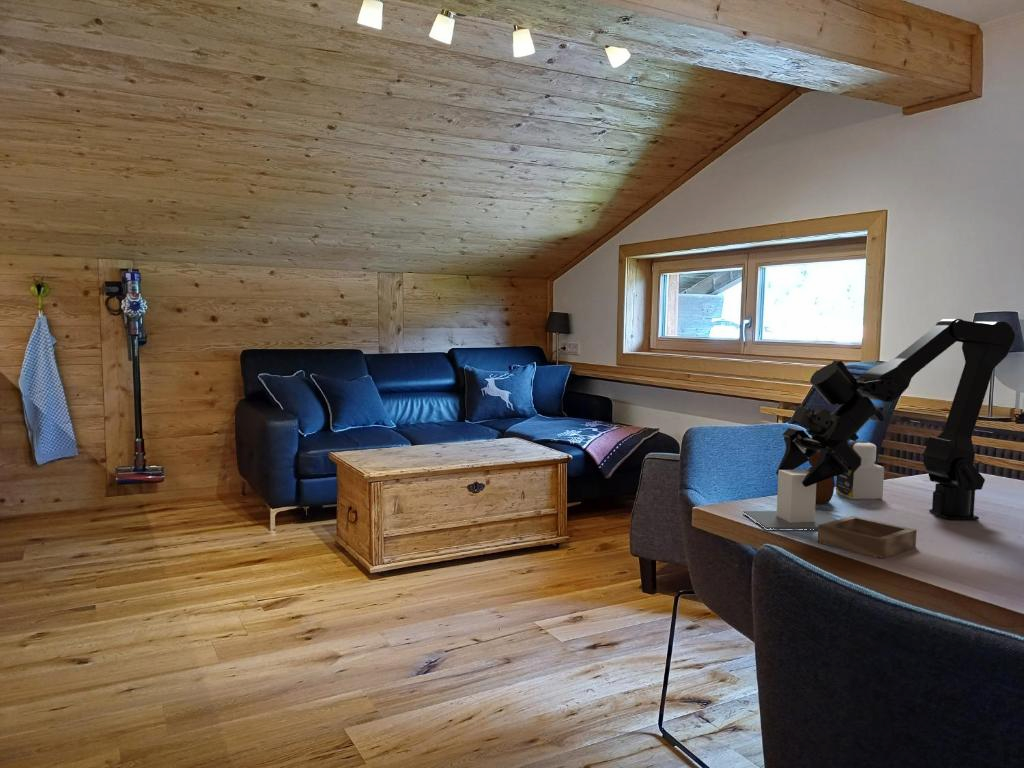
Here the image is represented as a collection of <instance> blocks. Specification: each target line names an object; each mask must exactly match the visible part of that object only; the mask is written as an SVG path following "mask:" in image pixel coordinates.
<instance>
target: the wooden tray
mask: <svg viewBox="0 0 1024 768" xmlns="http://www.w3.org/2000/svg"><path fill="white" fill-rule="evenodd" d="M917 531H918V530H917V529H915V528H910V527H908V526H907V527H906V526H901V525H897V524H891V523H889V522H888V523H887V522H882V521H878V520H874V519H870V518H865V517H860V516H857V515H851V516H847V517H843V518H840V519H838V520H835V521H832V522H828V523H824V524H821V525H818V530H817V539H816V540H817V543H819V542H821V543H820V544H823V543H825V544H824V545H827V544H828V545H827V546H830V545H832V547H834V546H836V547H835V548H838V547H840V548H839V549H842V548H844V549H843V550H846V549H847V551H850V550H851V551H850V552H854V551H855V553H858V552H859V553H858V554H862V553H863V554H862V555H866V554H867V555H866V556H870V555H871V556H870V557H873V556H876V557H875V558H877V557H880V558H879V559H881V558H883V559H885V558H884V557H886V558H888V557H890V555H891V556H894V555H897V554H899V553H902V552H903V553H904V552H905V551H908V550H910V549H915V548H916V547H917ZM896 553H897V554H896Z"/></svg>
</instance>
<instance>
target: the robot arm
mask: <svg viewBox="0 0 1024 768" xmlns="http://www.w3.org/2000/svg"><path fill="white" fill-rule="evenodd" d="M1015 338H1016V332H1015V331H1014V329H1013V327H1012V325H1010V323H1008V322H1006V321H1002V320H1001V321H999V320H997V321H995V320H994V321H993V320H992V321H991V320H989V321H988V320H985V321H984V320H979V321H978V320H977V321H970V320H963V319H962V318H944V319H943V318H942V319H941V320H939V321H937V322H936V324H935V326H934V327H932V328H930V329H929V330H928V331H927V332H926V333H925V334H923V335H922V336H921V337H920V338H918V339H917V340H916V341H914V342H913V343H912V344H911V345H909V346H908V347H906V349H904V350H903V351H902V352H900V353H899V354H898V355H897V356H896V357H894V358H892V359H890V360H888V361H885V362H882V363H879V364H876V365H875V366H873V367H871V368H869V369H867V370H865V371H864V372H863V373H861V375H860V376H854V375H853V374H852V373H851V372H850V371H849V369H848V368H847V365H846V364H845V363H844V362H843V361H842V360H836V359H834V360H833V361H832V362H831V363H829V364H826V365H824V366H822V367H821V368H820V369H817V370H816V371H814V373H813V374H812V375H811V377H810V380H809V382H810V384H811V385H812V386H813V388H815V390H816V391H817V392H818V393H819V394H820V396H822V398H823V399H824V400H825V401H826V402H827V403H828V404H829V405H837V407H836V409H835V410H834V411H833V412H831V411H830V410H828V409H826V408H822V407H818V408H817V409H816V410H815V409H811V408H808V407H804V406H800V405H798V406H796V409H795V411H794V413H793V415H792V417H791V420H790V422H791V423H794V424H798V425H800V426H801V427H804V428H807V429H806V430H804V429H800V428H796V427H788V428H786V430H785V431H784V432H783V433H782V437H783V442H784V443H785V452H784V454H783V456H782V458H781V461H780V463H779V465H778V468H777V469H776V473H775V474H776V475H777V476H778V470H796V469H797V468H798V467H800V466H801V465H804V464H805V463H807V462H809V457H811V456H813V455H814V454H815V453H816V452H820V457H819V460H818V462H817V463H816V464H815V465H814V467H813V468H812V469H811V470H810V472H809V473H808V474H807V476H806V477H805V478H804V480H803V481H802V484H803V485H804V486H805V487H807V486H810V485H813V484H815V483H818V482H821V481H823V480H826V479H829V478H832V477H834V478H835V477H837V476H838V475H841V474H844V473H846V474H847V473H849V471H852V472H855V471H856V470H857V469H858V468H859V467H860V466H861V463H862V458H861V457H860V456H859V454H858V453H857V452H856V451H855V450H854V449H853V448H852V447H851V445H850V444H849V442H852V441H858V439H859V438H860V437H859V436H858V434H857V433H859V432H860V430H861V429H862V428H863V427H864V426H865V425H866V424H867V423H868V421H870V420H872V421H877V422H882V423H883V422H884V421H885V416H884V412H883V411H884V408H883V406H876V404H874V402H873V401H878V402H884V403H892V402H895V401H896V400H898V399H899V398H900V397H901V396H902V395H903V394H904V393H905V391H906V390H907V389H908V388H909V386H910V383H911V381H912V378H913V377H914V376H915V375H916V374H918V372H920V371H921V370H922V369H924V368H926V366H927V365H929V364H930V363H931V362H932V361H933V360H935V359H937V357H939V356H940V355H941V354H942V353H944V352H945V351H947V350H948V349H949V348H950V347H951V346H953V345H954V344H955V343H956V342H959V343H962V344H961V349H962V353H963V357H964V366H963V369H962V372H961V375H960V378H959V381H958V385H957V388H956V391H955V393H954V396H953V400H952V403H951V406H950V409H949V411H948V416H947V418H946V421H945V425H944V428H943V430H942V432H941V433H939V435H938V436H937V437H934V436H929V437H928V439H927V440H926V441H927V442H926V447H925V449H924V451H923V452H922V454H921V456H923V461H922V462H923V466H924V467H925V470H926V471H927V474H928V477H929V481H930V482H933V483H935V488H934V490H933V492H932V502H931V503H932V505H931V506H932V507H931V508H929V510H928V512H929V513H931V514H934V515H936V516H939V517H941V518H944V519H946V520H980V517H979V515H975V501H976V500H975V499H976V497H975V496H976V491H977V490H980V491H981V490H982V489H983V486H984V485H985V481H986V480H985V477H984V476H983V475H982V474H981V473H980V472H979V471H978V469H976V467H975V466H974V463H975V456H976V452H975V448H974V444H973V441H972V437H973V434H974V431H975V428H976V424H977V422H978V418H979V416H980V413H981V412H980V411H981V409H982V406H983V403H984V400H985V397H986V394H987V390H988V388H989V384H990V381H991V379H992V375H993V372H994V370H995V368H996V367H997V366H998V365H999V364H1000V363H1001V362H1002V361H1004V360H1005V358H1006V357H1007V356H1008V355H1009V353H1010V350H1011V349H1012V347H1013V345H1014V342H1015ZM872 400H873V401H872ZM810 436H811V437H810ZM848 470H849V471H848Z"/></svg>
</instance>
